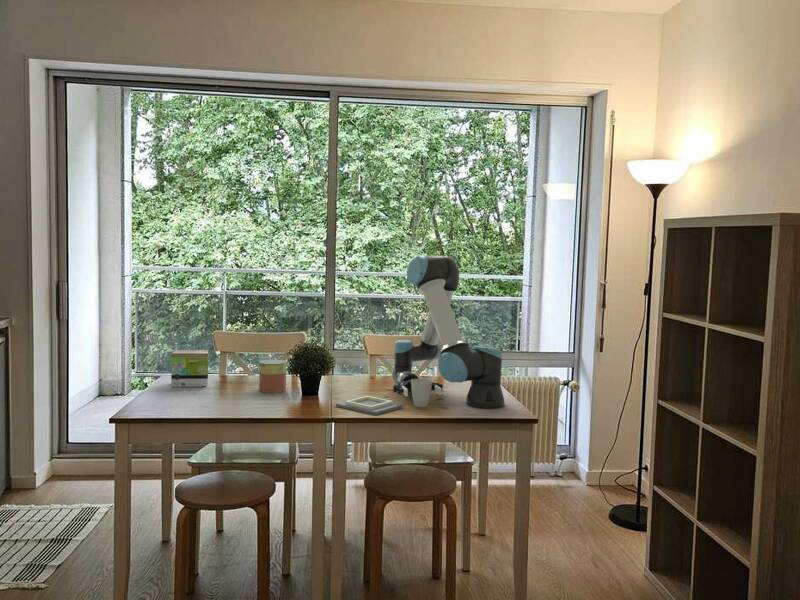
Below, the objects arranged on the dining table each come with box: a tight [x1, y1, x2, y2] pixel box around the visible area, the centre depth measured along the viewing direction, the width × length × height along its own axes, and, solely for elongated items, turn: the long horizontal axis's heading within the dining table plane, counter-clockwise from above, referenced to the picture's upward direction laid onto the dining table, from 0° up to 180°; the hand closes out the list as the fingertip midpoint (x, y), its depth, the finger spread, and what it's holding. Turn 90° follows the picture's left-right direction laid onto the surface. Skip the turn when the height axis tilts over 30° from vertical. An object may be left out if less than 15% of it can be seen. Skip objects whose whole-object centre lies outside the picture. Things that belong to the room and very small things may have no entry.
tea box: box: [170, 349, 209, 388], centre depth 318 cm, size 15×10×15 cm, turn 104°
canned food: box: [258, 358, 287, 393], centre depth 312 cm, size 11×11×12 cm
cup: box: [411, 378, 433, 408], centre depth 290 cm, size 8×8×10 cm
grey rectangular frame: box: [335, 395, 403, 416], centre depth 286 cm, size 20×16×2 cm
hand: (423, 392), depth 287 cm, fingers open, 13 cm apart
